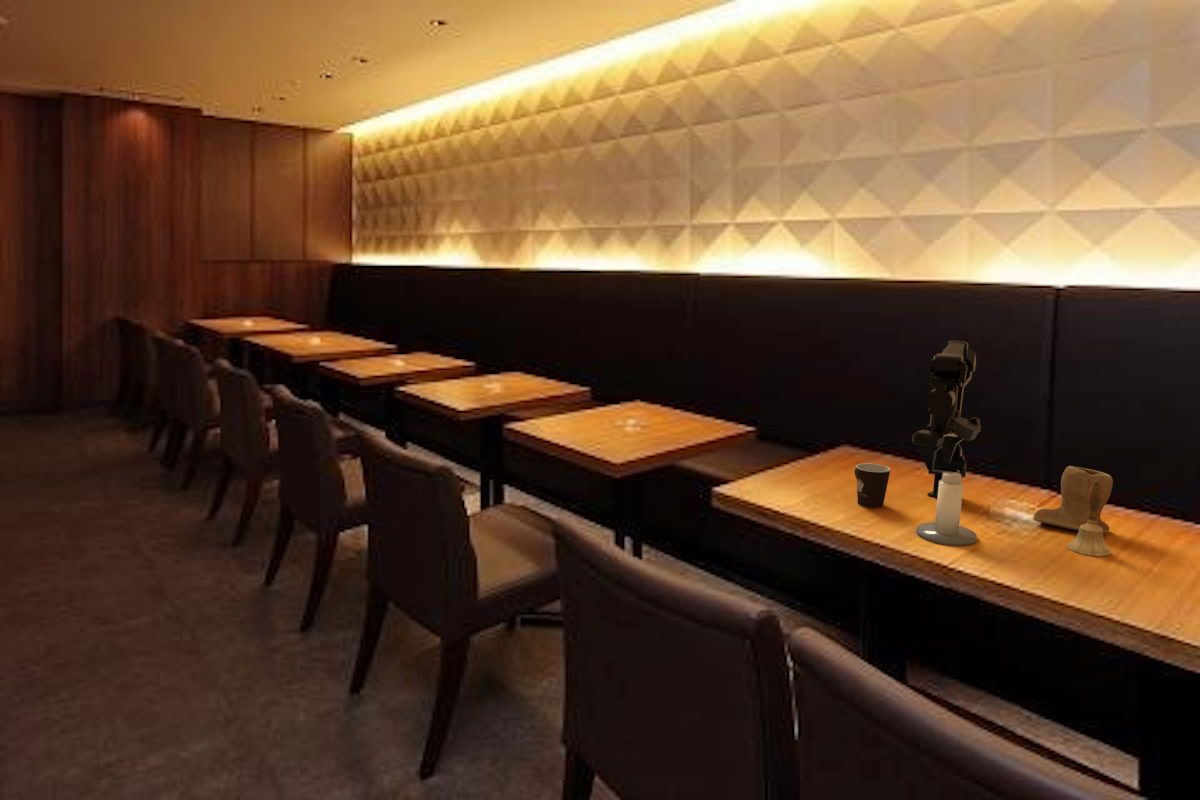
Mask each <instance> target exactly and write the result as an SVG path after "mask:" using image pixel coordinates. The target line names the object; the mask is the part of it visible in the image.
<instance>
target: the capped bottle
mask: <svg viewBox="0 0 1200 800" xmlns="http://www.w3.org/2000/svg"><path fill="white" fill-rule="evenodd" d="M963 492H964V483H963V481H962V478H961V474H959V473H956V472H943V474H942V480H939V487H938V498H937V497H936V498H937V499H936V500H937V501H936V509H935V510H936V511H935V521H934V522H935V532H937V533H939V534H943V535H958V534H959V526H960V522H961V512H962V502H963Z"/></svg>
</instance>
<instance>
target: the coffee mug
mask: <svg viewBox="0 0 1200 800" xmlns="http://www.w3.org/2000/svg"><path fill="white" fill-rule="evenodd" d="M890 474H891V468H890V467H889V466H886V465H884V464H877V463H868V462H867V463H866V462H865V463H859V464H857V465H856V464H855V469H854V475H855V479H856V496H857V497H856V499H857V505H858V506H860V507H864V508H870V509H881V508H883V507H884V503H885V498H886V494H887V489H888V483H889V480H890V479H889V478H890Z"/></svg>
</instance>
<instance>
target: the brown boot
mask: <svg viewBox="0 0 1200 800" xmlns="http://www.w3.org/2000/svg"><path fill="white" fill-rule="evenodd" d="M1060 479H1061V480H1060V493H1061V503H1060V506H1058V507H1057V508H1039V509H1038V510H1037V511H1036V512H1035V513H1034V515H1033V521H1035V522H1038V523H1042V524H1046V525H1050V526H1053V527H1058V528H1063V529H1069V530H1073V531H1079V528H1080V526H1081V525H1083V524H1086V523H1087V521H1088V517H1089V516H1088V515H1089V510H1090V506H1089V500H1088V495H1089V490H1090V488H1091V486H1092V484H1093V482H1094V481H1100V482H1101V488H1102V500H1101V503H1100V505H1099V507H1098V511H1097V520H1096V524H1097V525H1098V526H1099V527H1101V528H1102V529H1103V534H1107V533H1108V532H1110V531H1109V530H1110V526H1109V524H1108V523H1106V522H1105V521H1103V520H1102V518H1101V514H1102V511H1103V508H1104V507H1105V506H1106V503H1107V502H1108V500H1109V499H1110V496H1111V493H1112V488H1113V486H1114V479H1113V477H1112V475H1110V474H1108V473H1105V472H1102V471H1100V470H1099V471H1098V470H1095V469H1090V468H1085V467H1079V466H1072V465H1069V466H1066V467H1065V469H1064V471H1063V473H1062V475H1061V478H1060Z"/></svg>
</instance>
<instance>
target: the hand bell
mask: <svg viewBox="0 0 1200 800" xmlns="http://www.w3.org/2000/svg"><path fill="white" fill-rule="evenodd" d="M1088 500H1089V506H1090V510H1089V515H1088V516H1089V517H1088V521H1087V523H1086V524H1083V525H1081V526H1080V528H1079V531H1078V532H1077V534H1076V537H1075V538H1074V539H1073V540H1072V541H1070V542H1069V543H1068V544H1067V549H1068V550H1070V551H1072V552H1074V553H1077V554H1079V555H1084V556H1090V557H1098V558H1100V557H1107V556H1108V557H1109V556H1110V555H1111V554H1112V552H1111V550H1110V549H1109V547H1107V545H1106V542H1105V539H1104V533H1103V529H1102V528H1101V527H1099V526H1098V525H1097V524H1096V520H1097V511H1098V507H1099V505H1100V503H1101V500H1102V488H1101V482H1100V481H1094V482H1093V484H1092V486H1091V488H1090V490H1089V495H1088Z"/></svg>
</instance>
